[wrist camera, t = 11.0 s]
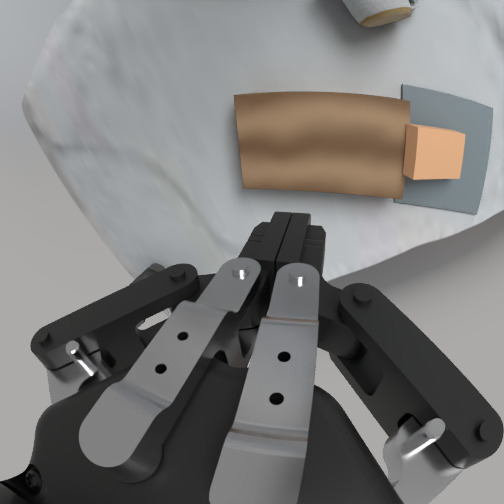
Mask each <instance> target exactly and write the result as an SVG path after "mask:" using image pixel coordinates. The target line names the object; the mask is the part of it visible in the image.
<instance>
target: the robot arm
mask: <svg viewBox="0 0 504 504" xmlns="http://www.w3.org/2000/svg"><path fill="white" fill-rule="evenodd" d="M325 238H326V232H325V231H324V229H323V228H322V226H315V225H311V215H310V214H307V213H291V212H275V213H274V215H273V217H272V219H271V221H270V222H262V223H260V224H259V225H258V226H256V227H255V228H254V230H253V231H252V233H251V236H250V237H249V239H248V241H247V242H246V244H245V246H244V248H243V249H242V251H241V253H240V255H239V257H238V258H235V259H232V260H229V261H227V262H226V263H225V264H223V265H222V267H221V268H220V269H219V271H218V272H217V273H216V274H208V275H198V273H197V270H196V268H195V267H194V266H192V265H190V264H176V265H173V266H171V267H168V268H166V269H164V270H162V271H160V272H157V273H155V274H153V275H151V276H149V277H147V278H144V279H142V280H140V281H138V282H136V283H134V284H132V285H129V286H127V287H125V288H123V289H121V290H119V291H117V292H114V293H112V294H110V295H108V296H106V297H104V298H102V299H100V300H98V301H96V302H93V303H91V304H89V305H88V306H85V307H83V308H81V309H79V310H77V311H75V312H73V313H71V314H69V315H67V316H65V317H63V318H60V319H58V320H57V321H54V322H52V323H50V324H48V325H46V326H44V327H42V328H41V329H40V330H39V331H37V333H36V334H35V335H34V337H33V338H32V341H31V351H32V352H33V353H34V354H35V355H36V357H37V358H38V359H39V360H40V361H41V362H42V363H43V365H44V367H45V368H46V369H47V374H48V382H49V390H50V397H51V403H52V405H51V406H50V407H48V408H47V409H46V410H45V411H44V412H43V414H42V415H41V417H40V418H39V420H38V423H37V426H36V431H35V440H34V447H33V452H32V456H31V460H30V464H29V465H28V467H27V469H26V470H25V471H24V472H23V473H21V474H20V475H18V476H15V477H13V478H10V479H8V480H4V481H0V504H428V503H429V502H430V501H432V500H433V499H434V498H435V497H436V496H437V495H438V494H439V493H441V492H442V491H443V490H444V489H445V488H446V487H447V486H448V485H449V484H450V483H451V482H452V481H453V480H454V479H455V478H456V477H457V476H458V475H459V474H460V473H461V472H462V471H463V470H464V469H466V468H468V467H470V466H472V465H474V464H476V463H478V462H480V461H482V460H484V459H486V458H488V457H489V456H491V455H492V454H494V453H495V452H496V451H497V449H498V448H499V446H500V444H501V442H502V438H503V423H502V420H501V418H500V416H499V415H498V414H497V412H496V411H495V410H494V409H493V408H492V407H491V405H490V404H489V403H488V402H487V401H486V399H484V397H483V396H482V395H481V394H480V393H479V391H478V390H477V389H476V388H475V387H474V386H473V385H472V384H471V382H470V381H469V380H468V379H467V378H466V377H465V376H464V375H463V374H462V373H461V372H460V370H459V369H458V368H457V367H456V366H455V365H454V364H453V363H452V362H451V361H450V360H449V359H448V358H447V357H446V355H445V354H444V353H442V351H441V350H440V349H439V348H438V347H437V346H436V345H435V344H434V343H433V342H432V341H431V340H430V339H429V338H428V337H427V336H426V335H425V334H424V333H423V332H422V331H421V330H420V329H419V328H418V327H417V326H416V325H415V324H414V323H413V322H412V321H411V320H410V319H409V318H408V317H406V315H404V314H403V313H402V312H401V311H400V310H399V309H398V308H397V307H396V306H395V305H394V304H393V303H392V302H391V301H390V300H389V299H388V298H387V297H386V296H384V295H383V294H382V293H381V292H380V291H379V290H378V289H376V288H375V287H373V286H371V285H368V284H364V283H355V284H351V285H348V286H346V287H345V288H344V289H343V290H341V289H338V288H336V287H333V286H331V285H330V284H328V283H327V282H326V281H325V280H324V279H323V277H322V273H323V265H324V253H325ZM167 308H170V311H171V313H172V314H171V315H170V317H169V318H168V319H166V320H163V321H162V322H159V323H157V324H155V325H153V326H151V327H150V328H147V329H145V330H139V329H137V328H136V325H137V324H138V323H139V322H140V321H142V320H144V319H146V318H149V317H151V316H153V315H155V314H156V313H159V312H161V311H163V310H165V309H167ZM267 312H268V314H267ZM266 315H267V316H266ZM317 347H318V348H321V349H323V350H326V351H328V352H329V355H330V357H331V360H332V361H333V362H334V363H335V365H336V366H337V368H338V369H339V370H340V372H341V373H342V375H343V376H344V377H345V378H346V380H347V381H348V383H349V384H350V385H351V387H352V388H353V389H354V391H355V392H356V393H357V395H358V396H359V397H360V399H361V400H362V401H363V403H364V404H365V405H366V407H367V408H368V409H369V411H370V412H371V414H372V415H373V416H374V418H375V419H376V420H377V421H378V423H379V424H380V426H381V427H382V428H383V430H384V431H385V432H386V434H387V435H388V436H389V438H388V439H387V441H386V442H385V445H384V448H383V458H384V461H385V463H386V465H387V468H388V478H387V477H386V475H385V474H384V472H383V471H382V469H381V468H380V466H379V464H378V463H377V461H376V460H375V458H374V457H373V455H372V453H371V452H370V450H369V449H368V447H367V446H366V444H365V443H364V441H363V440H362V438H361V437H360V435H359V433H358V432H357V430H356V429H355V427H354V425H353V424H352V422H351V421H350V419H349V418H348V416H347V414H346V413H345V411H344V410H343V408H342V407H341V405H340V404H339V403H338V402H337V401H336V400H335V398H333V397H332V396H331V395H330V394H329V393H327V392H326V391H324V390H323V389H322V388H320V387H318V386H316V385H314V379H315V368H316V356H317ZM251 356H252V358H251ZM250 359H251V362H250V365H249V368H247V366H248V363H249V361H250Z"/></svg>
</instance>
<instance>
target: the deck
mask: <svg viewBox="0 0 504 504" xmlns="http://www.w3.org/2000/svg"><path fill="white" fill-rule="evenodd" d="M234 103H235V112H236V122H237V132H238V141H239V151H240V160H241V170H242V179H243V188H247V189H279V190H300V191H316V192H331V193H343V194H355V195H366V196H375V197H385V198H393V199H402V198H403V191H404V184H405V176H406V175H404V174H403V167H404V157H405V145H406V128H407V124H410V101H407V100H402V99H396V98H389V97H381V96H373V95H363V94H352V93H336V92H268V93H252V94H241V95H234Z"/></svg>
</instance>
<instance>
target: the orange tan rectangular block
mask: <svg viewBox="0 0 504 504" xmlns="http://www.w3.org/2000/svg"><path fill="white" fill-rule="evenodd" d="M465 135H466V134H463V133H461V132H458V131H455V130H450V129H444V128H437V127H431V126H423V125H415V124H407V128H406V145H405V157H404V167H403V174H404V175H406V176H408V177H409V178H411V179H413V180H421V179H460V174H461V168H462V161H463V154H464V145H465Z"/></svg>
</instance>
